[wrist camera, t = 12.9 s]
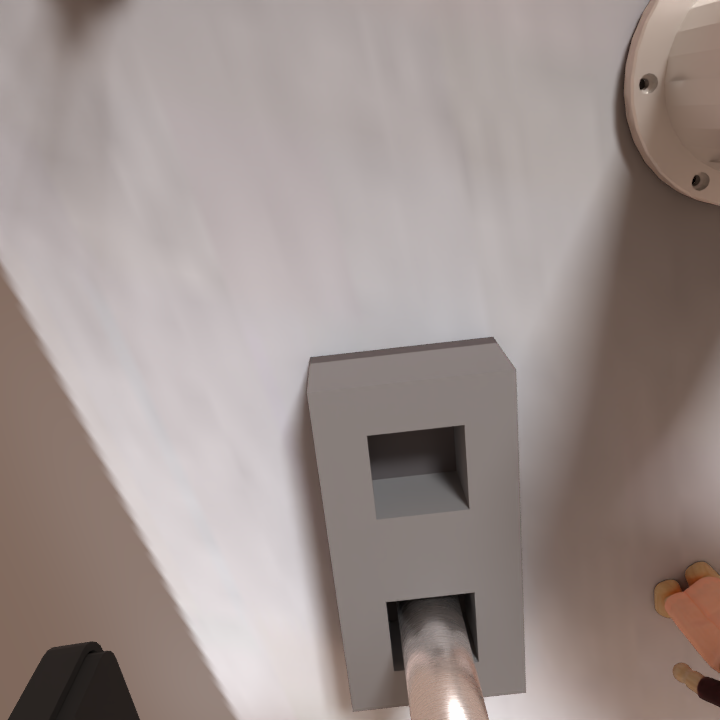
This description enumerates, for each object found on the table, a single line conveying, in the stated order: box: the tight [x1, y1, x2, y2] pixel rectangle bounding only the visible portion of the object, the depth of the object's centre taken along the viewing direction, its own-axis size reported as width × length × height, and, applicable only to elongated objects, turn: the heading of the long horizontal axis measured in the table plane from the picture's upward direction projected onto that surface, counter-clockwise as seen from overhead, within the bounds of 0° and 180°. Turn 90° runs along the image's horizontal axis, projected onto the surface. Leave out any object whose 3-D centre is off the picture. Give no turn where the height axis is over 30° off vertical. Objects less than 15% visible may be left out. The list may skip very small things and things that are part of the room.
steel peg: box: [396, 594, 489, 720], centre depth 36 cm, size 4×4×12 cm
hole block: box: [307, 337, 526, 712], centre depth 38 cm, size 10×20×5 cm, turn 6°
